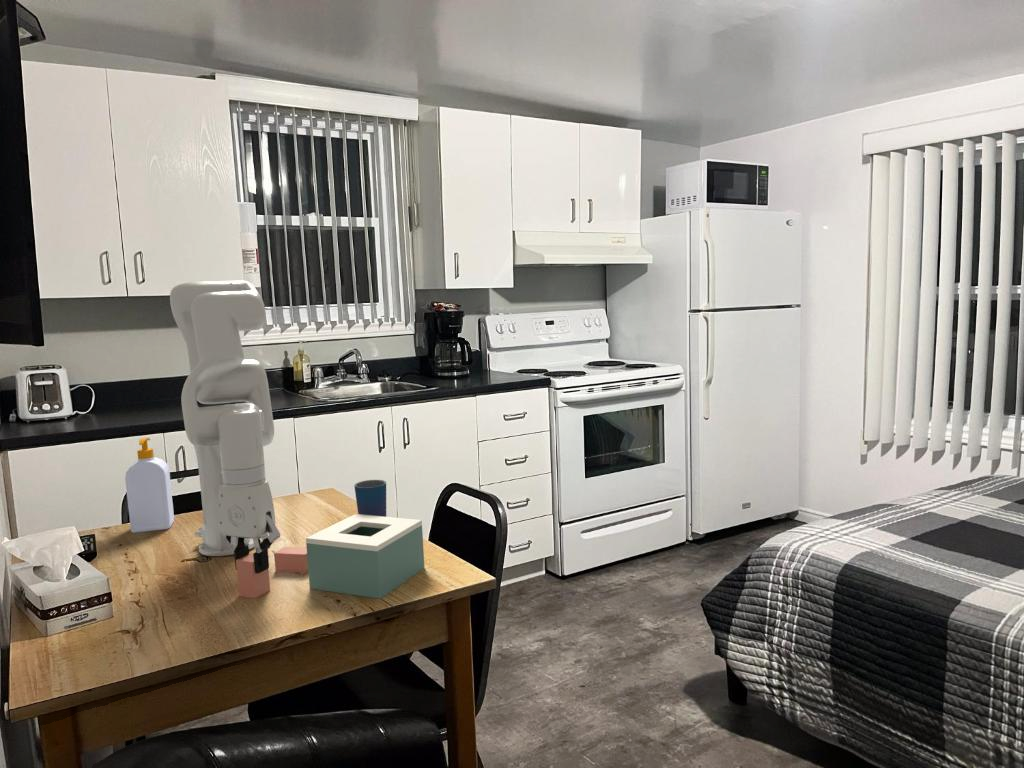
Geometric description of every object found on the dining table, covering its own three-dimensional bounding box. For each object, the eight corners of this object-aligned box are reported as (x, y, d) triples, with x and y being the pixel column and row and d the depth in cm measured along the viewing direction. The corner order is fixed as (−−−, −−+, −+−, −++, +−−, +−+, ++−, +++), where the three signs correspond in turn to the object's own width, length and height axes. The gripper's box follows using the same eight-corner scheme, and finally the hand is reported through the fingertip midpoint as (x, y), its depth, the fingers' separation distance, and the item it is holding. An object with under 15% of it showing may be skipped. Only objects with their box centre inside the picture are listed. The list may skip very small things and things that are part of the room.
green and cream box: (309, 588, 141) (305, 538, 140) (358, 559, 155) (355, 513, 154) (380, 598, 134) (376, 546, 133) (424, 567, 149) (421, 520, 148)
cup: (383, 556, 157) (379, 487, 155) (353, 555, 158) (349, 487, 156) (395, 545, 163) (390, 479, 162) (366, 544, 165) (361, 479, 163)
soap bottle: (130, 534, 180) (120, 442, 178) (136, 526, 187) (126, 437, 184) (170, 529, 183) (160, 439, 180) (174, 521, 190) (165, 434, 187)
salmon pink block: (238, 595, 139) (235, 560, 138) (254, 587, 143) (250, 553, 142) (255, 598, 137) (252, 562, 137) (270, 590, 141) (267, 555, 140)
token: (275, 571, 151) (274, 553, 151) (285, 564, 155) (284, 546, 154) (306, 573, 149) (305, 554, 149) (316, 566, 153) (314, 547, 153)
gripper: (195, 477, 137) (204, 571, 139) (265, 482, 130) (273, 581, 133) (225, 468, 144) (233, 558, 146) (293, 472, 137) (300, 567, 139)
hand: (252, 568), depth 139 cm, fingers closed on salmon pink block, 4 cm apart
